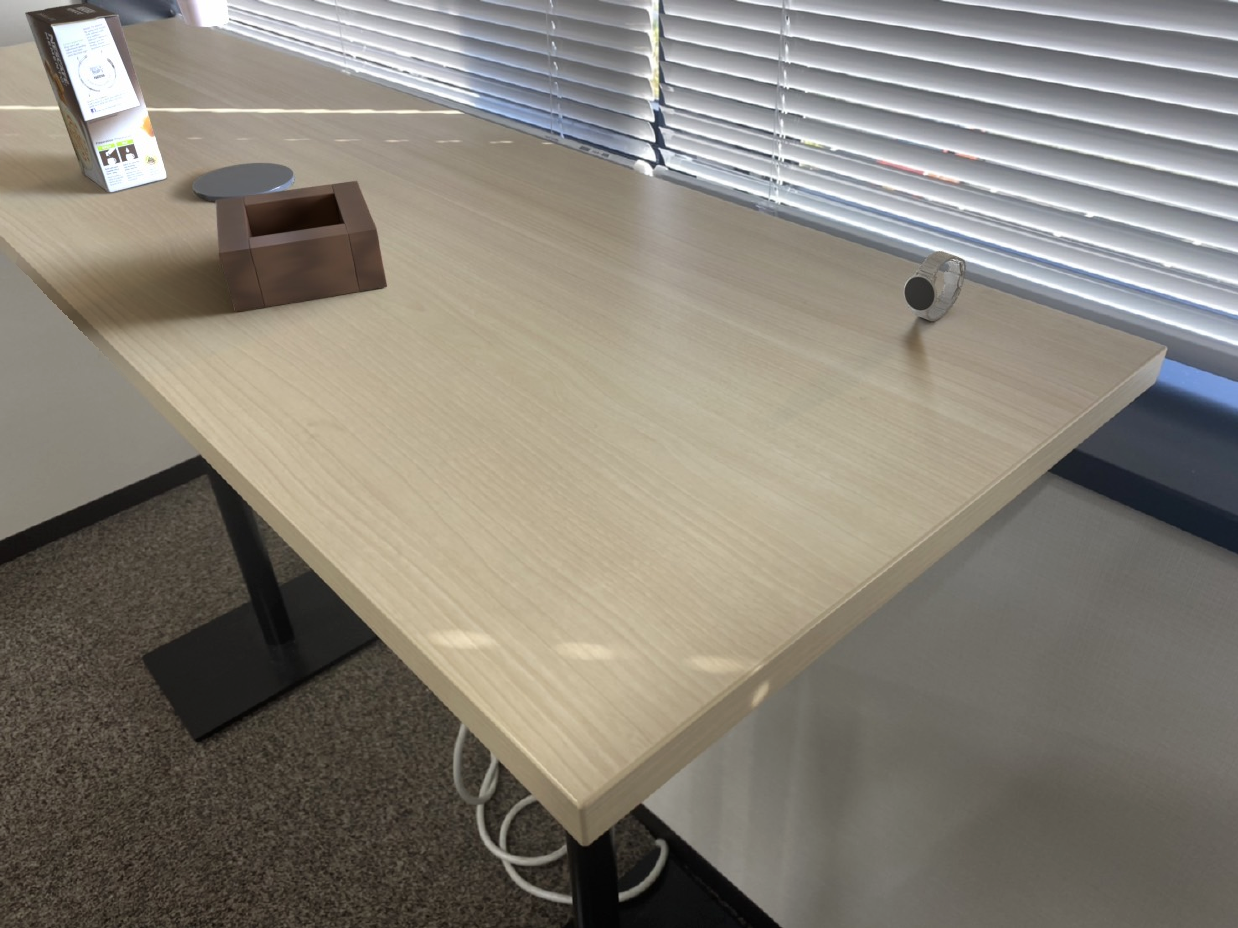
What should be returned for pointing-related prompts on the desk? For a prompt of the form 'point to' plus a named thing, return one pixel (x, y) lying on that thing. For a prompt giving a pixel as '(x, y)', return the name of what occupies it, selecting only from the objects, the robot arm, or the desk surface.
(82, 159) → the coffee box
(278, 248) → the stand
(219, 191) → the coaster
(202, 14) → the smoothie
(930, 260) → the wristwatch
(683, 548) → the desk surface
